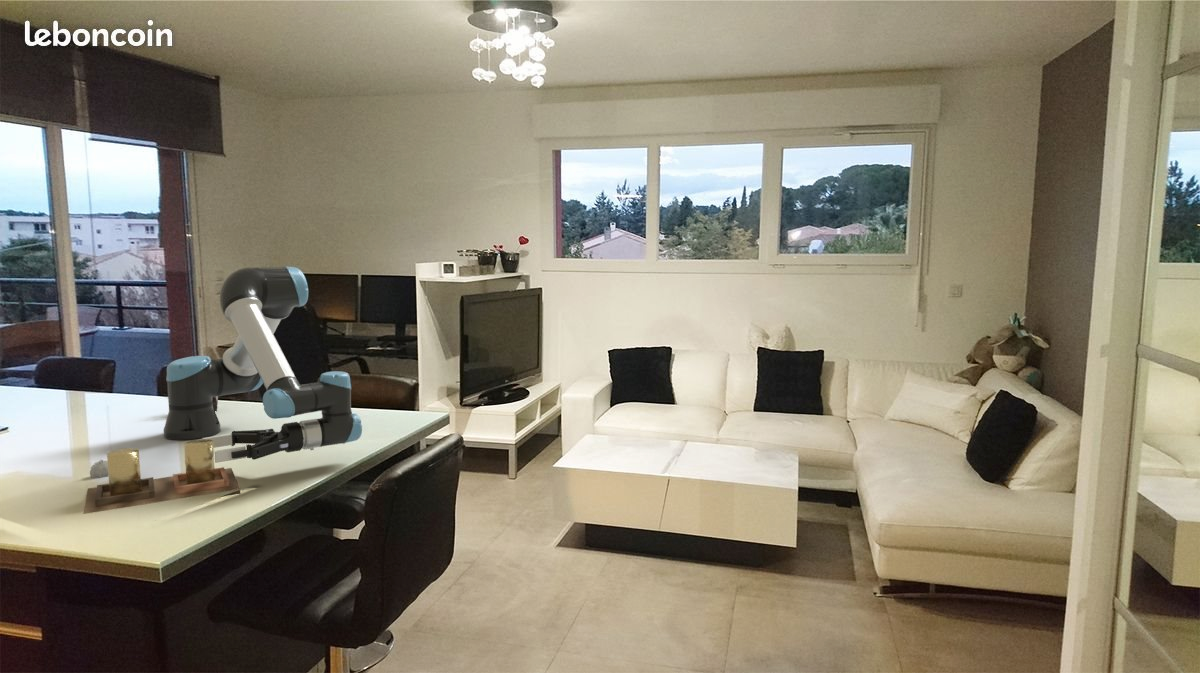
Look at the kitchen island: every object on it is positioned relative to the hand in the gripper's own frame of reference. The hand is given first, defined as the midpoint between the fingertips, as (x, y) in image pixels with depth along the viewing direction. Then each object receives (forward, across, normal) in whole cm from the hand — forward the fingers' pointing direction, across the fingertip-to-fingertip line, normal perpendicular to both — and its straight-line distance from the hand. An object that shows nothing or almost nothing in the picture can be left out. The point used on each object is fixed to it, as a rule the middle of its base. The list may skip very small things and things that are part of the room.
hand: (208, 450), depth 170 cm
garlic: (+19, +22, -9) cm, 31 cm away
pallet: (+10, +1, -9) cm, 13 cm away
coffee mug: (-16, +84, -9) cm, 86 cm away
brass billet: (+2, 0, -8) cm, 8 cm away
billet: (+17, +2, -8) cm, 19 cm away
